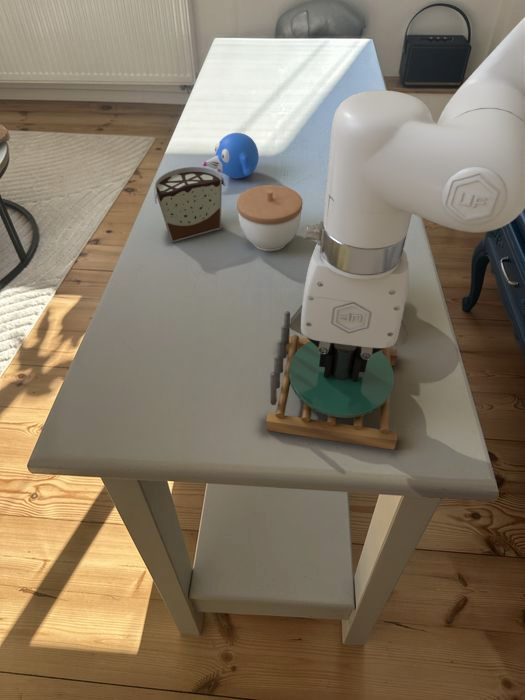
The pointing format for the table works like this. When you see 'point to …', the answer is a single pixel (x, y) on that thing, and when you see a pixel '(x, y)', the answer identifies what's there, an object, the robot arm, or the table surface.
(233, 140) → the blue mole toy
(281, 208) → the trinket box
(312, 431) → the dish rack
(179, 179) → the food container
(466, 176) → the robot arm
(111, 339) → the table surface
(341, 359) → the lid
